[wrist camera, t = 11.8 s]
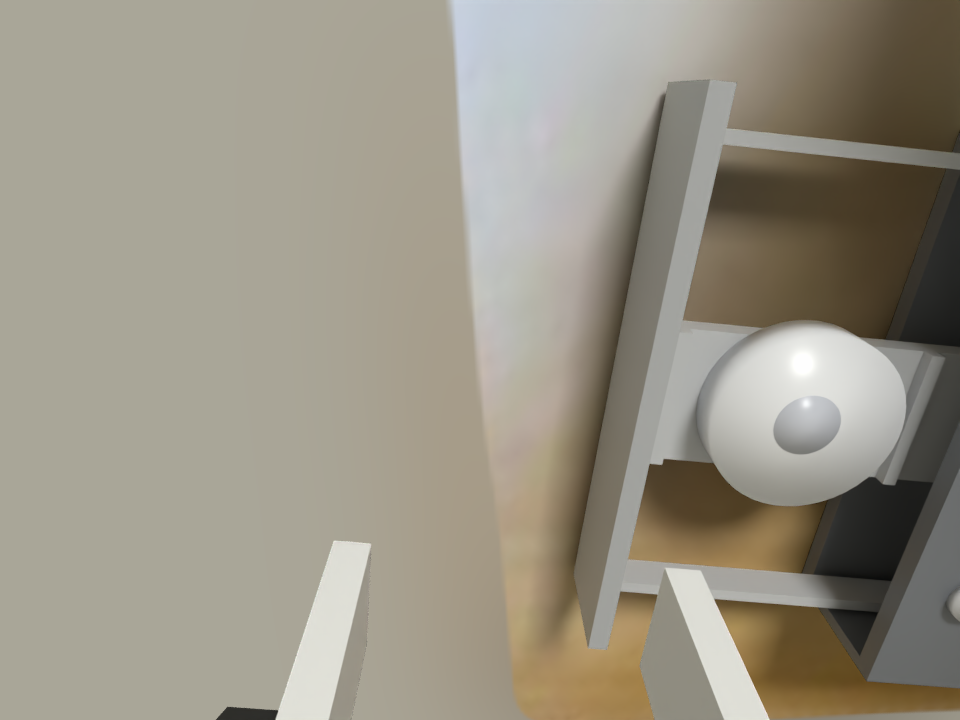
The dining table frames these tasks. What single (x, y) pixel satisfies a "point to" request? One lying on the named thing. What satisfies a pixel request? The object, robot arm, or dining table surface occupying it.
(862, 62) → the dining table surface
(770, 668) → the dining table surface
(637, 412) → the tray
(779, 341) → the disc
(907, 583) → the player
